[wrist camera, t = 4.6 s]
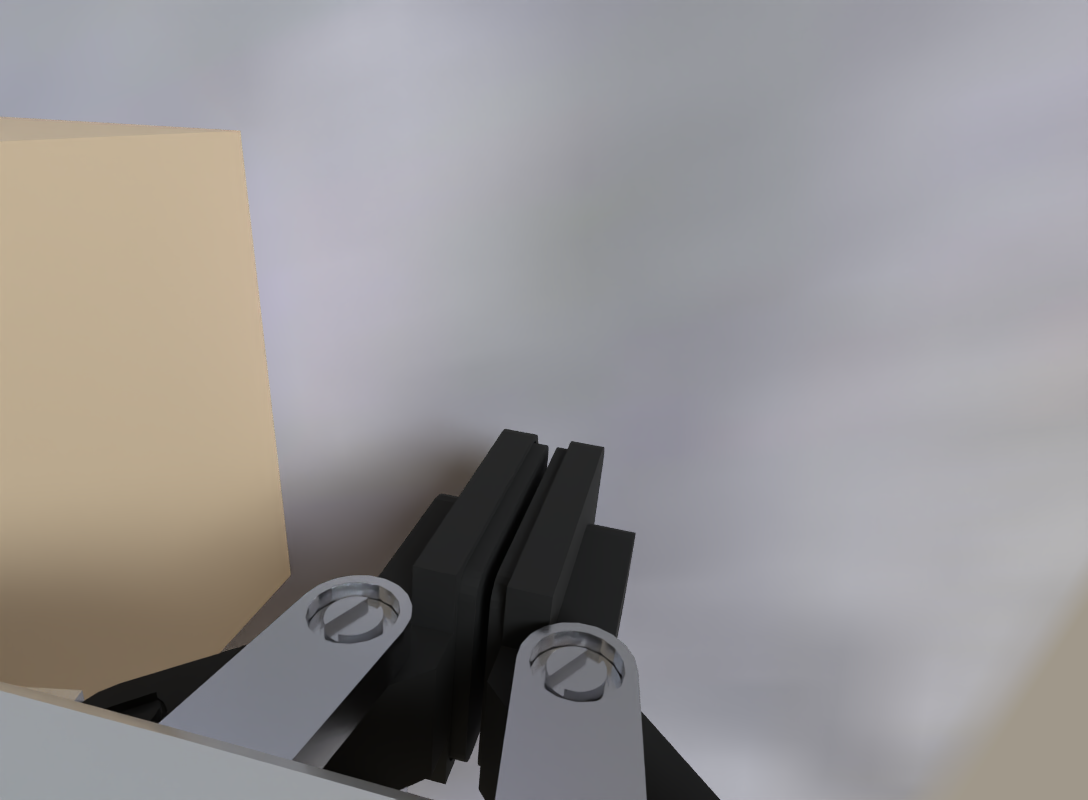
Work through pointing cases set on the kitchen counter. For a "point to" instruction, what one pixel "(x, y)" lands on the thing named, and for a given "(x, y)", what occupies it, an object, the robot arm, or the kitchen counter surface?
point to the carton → (130, 404)
